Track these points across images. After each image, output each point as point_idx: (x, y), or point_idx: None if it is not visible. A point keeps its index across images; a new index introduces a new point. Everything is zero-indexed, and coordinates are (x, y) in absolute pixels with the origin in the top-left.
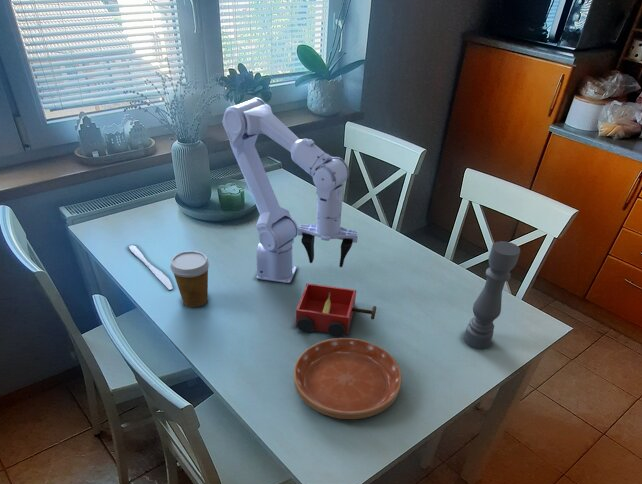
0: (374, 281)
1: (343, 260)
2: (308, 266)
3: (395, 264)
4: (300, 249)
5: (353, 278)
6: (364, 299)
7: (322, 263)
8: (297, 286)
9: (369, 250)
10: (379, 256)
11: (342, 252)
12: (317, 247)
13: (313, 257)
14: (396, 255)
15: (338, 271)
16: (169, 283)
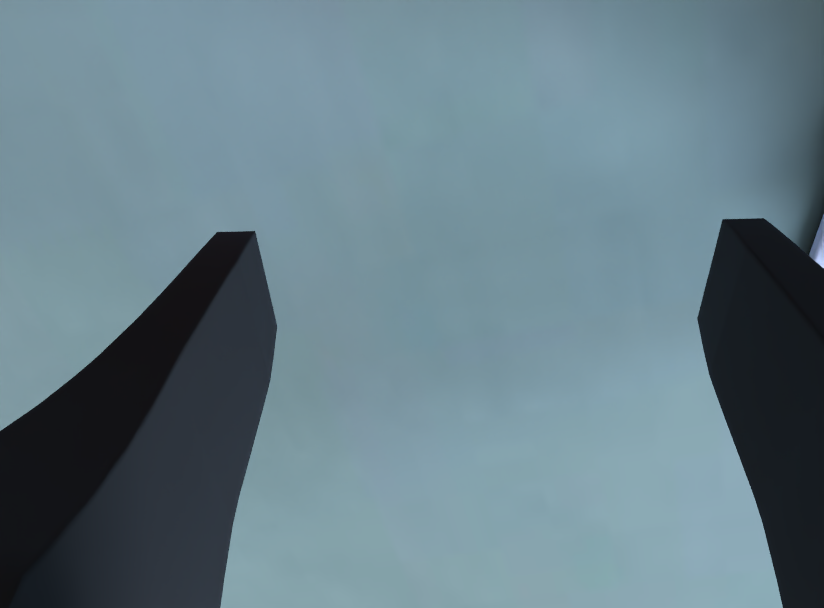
0: (107, 308)
1: (146, 310)
2: (678, 361)
3: None
4: (750, 503)
5: (280, 306)
6: (56, 48)
7: (568, 410)
8: (778, 77)
9: (286, 560)
10: None
11: (94, 439)
12: (627, 535)
13: (713, 330)
14: None
15: (424, 356)
16: None
